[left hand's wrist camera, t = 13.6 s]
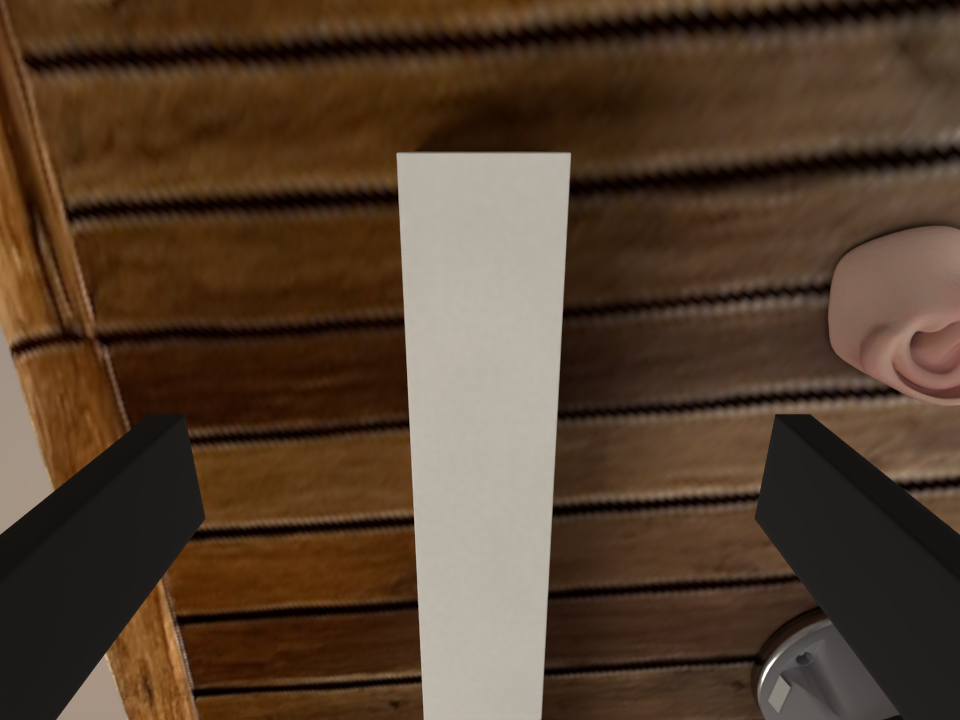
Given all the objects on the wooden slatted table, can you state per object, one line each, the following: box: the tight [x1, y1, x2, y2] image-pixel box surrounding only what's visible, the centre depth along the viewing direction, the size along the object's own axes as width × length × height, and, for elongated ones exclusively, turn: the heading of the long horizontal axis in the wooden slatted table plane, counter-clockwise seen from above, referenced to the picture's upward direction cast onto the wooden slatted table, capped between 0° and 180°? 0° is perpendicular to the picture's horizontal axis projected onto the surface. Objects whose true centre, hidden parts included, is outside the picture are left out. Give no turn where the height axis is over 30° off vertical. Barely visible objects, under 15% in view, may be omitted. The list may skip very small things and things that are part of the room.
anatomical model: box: [828, 226, 960, 405], centre depth 37 cm, size 13×4×12 cm
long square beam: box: [397, 152, 571, 720], centre depth 43 cm, size 65×9×7 cm, turn 0°
